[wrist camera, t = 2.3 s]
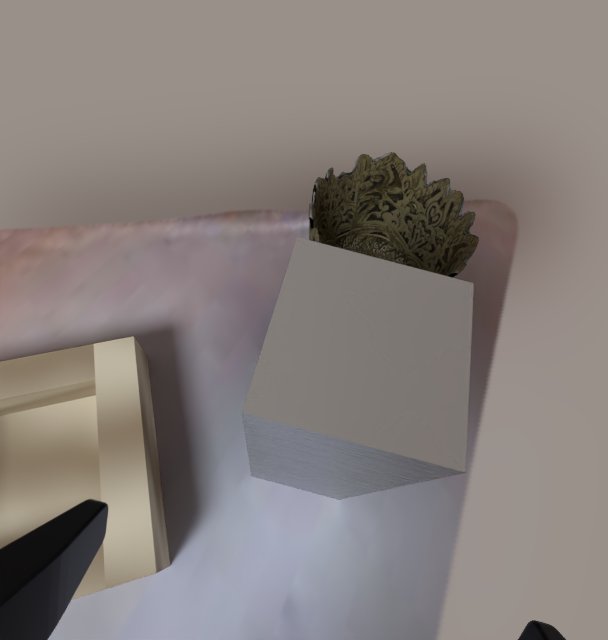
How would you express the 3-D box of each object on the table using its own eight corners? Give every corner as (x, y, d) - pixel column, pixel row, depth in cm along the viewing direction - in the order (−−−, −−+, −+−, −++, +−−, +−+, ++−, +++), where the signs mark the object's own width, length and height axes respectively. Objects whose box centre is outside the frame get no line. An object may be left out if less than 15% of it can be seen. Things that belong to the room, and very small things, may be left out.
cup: (372, 237, 26) (414, 134, 19) (437, 326, 24) (514, 245, 17) (273, 277, 24) (279, 177, 17) (333, 379, 22) (371, 312, 15)
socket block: (171, 564, 17) (156, 573, 15) (-92, 646, 15) (-165, 673, 13) (149, 358, 22) (133, 336, 19) (-62, 401, 19) (-113, 382, 17)
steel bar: (338, 499, 19) (465, 472, 7) (251, 475, 19) (241, 412, 8) (354, 411, 21) (473, 282, 9) (275, 390, 21) (297, 237, 10)
